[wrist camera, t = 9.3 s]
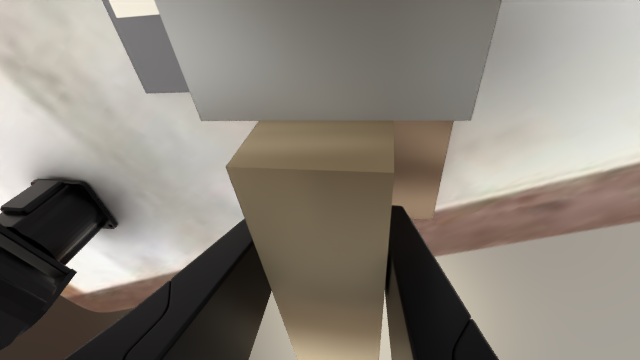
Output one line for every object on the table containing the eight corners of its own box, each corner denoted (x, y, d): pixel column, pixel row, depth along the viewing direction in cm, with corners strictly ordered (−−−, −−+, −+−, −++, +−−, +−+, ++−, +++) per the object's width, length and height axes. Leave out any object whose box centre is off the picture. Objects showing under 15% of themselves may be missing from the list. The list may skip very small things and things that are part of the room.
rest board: (430, 212, 24) (432, 219, 23) (335, 207, 25) (334, 214, 25) (519, -221, 10) (528, -232, 10) (305, -178, 12) (301, -185, 11)
